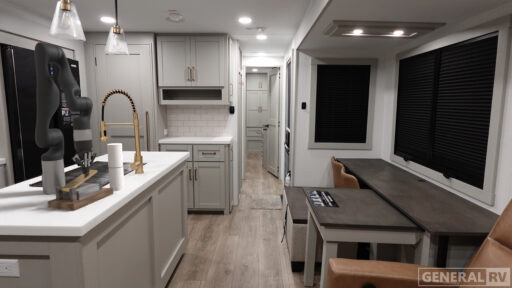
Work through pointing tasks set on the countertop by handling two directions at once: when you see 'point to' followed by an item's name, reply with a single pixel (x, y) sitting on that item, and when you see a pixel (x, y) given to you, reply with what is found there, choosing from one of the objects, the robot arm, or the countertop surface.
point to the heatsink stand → (79, 196)
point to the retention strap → (77, 181)
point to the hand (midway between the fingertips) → (86, 174)
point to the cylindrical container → (115, 166)
